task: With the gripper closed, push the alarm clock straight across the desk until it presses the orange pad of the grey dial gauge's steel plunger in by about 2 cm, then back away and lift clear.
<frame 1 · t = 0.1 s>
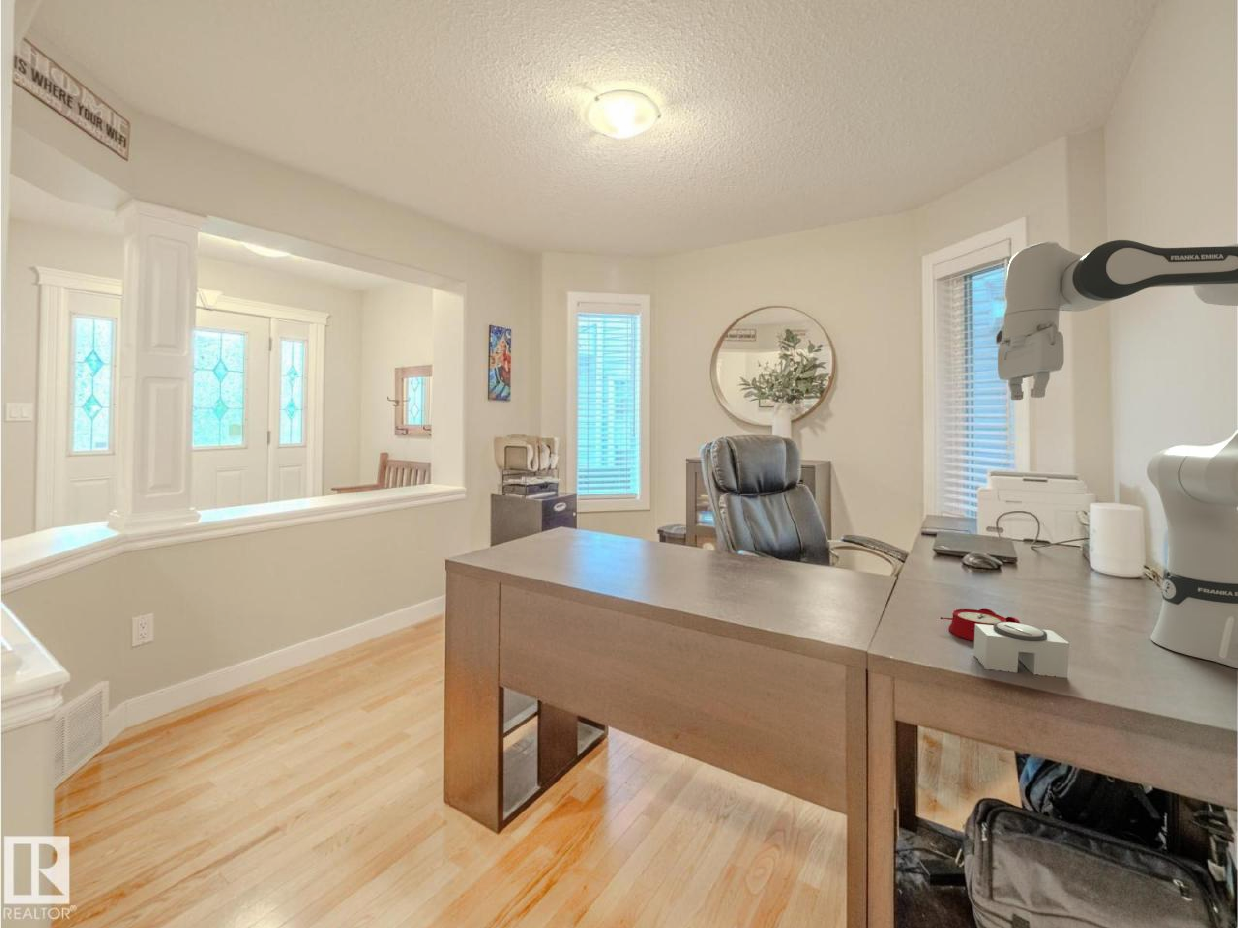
hand: (1026, 399, 109), 48 cm above the table, tool pointing down, fingers open, 8 cm apart
alarm clock: (984, 635, 112), on the table
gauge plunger: (1007, 642, 101), point 2 cm above the table, slide at 0.0 cm
dial gauge: (1017, 665, 96), on the table
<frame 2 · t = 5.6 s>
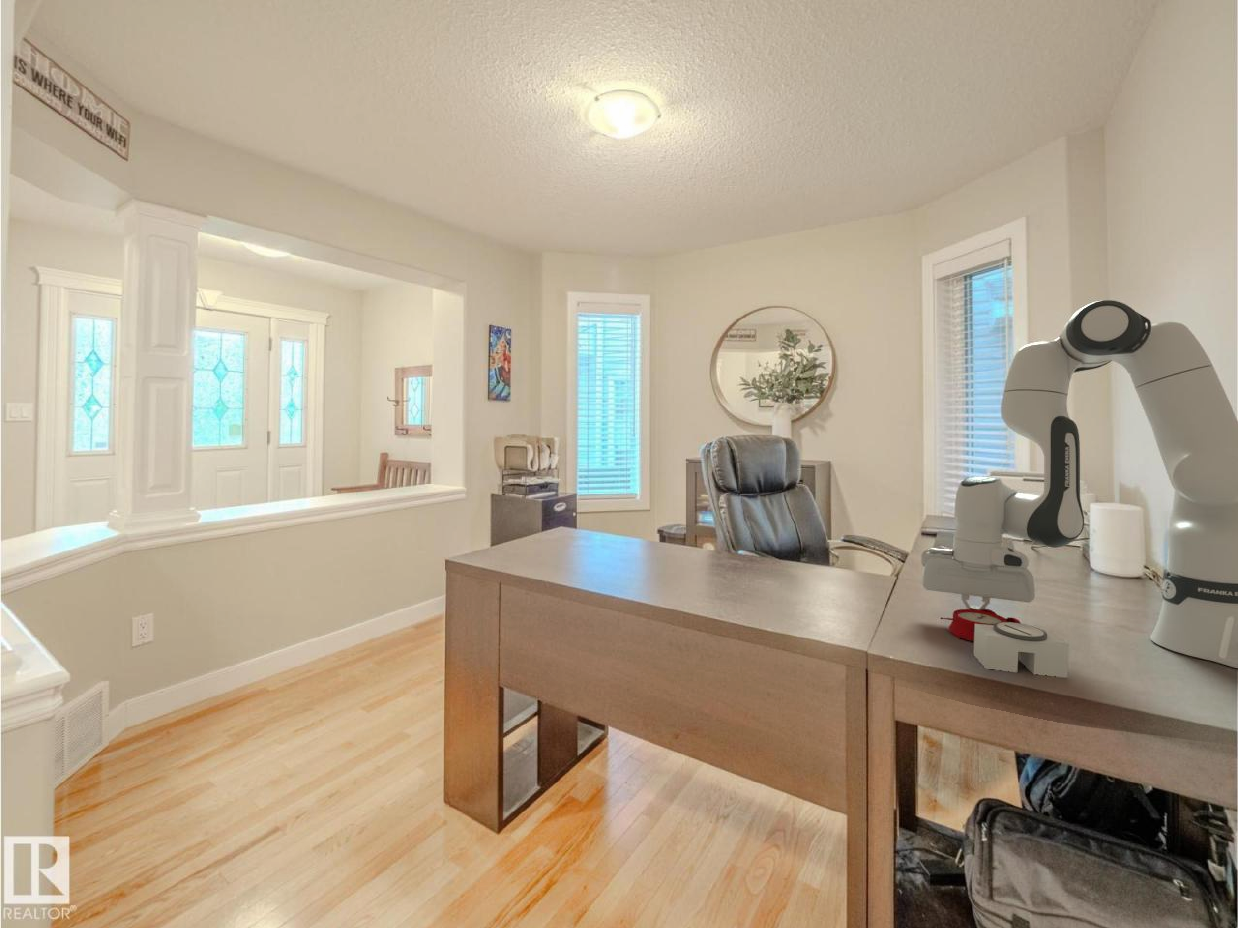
hand: (974, 615, 117), 2 cm above the table, tool pointing down, fingers closed
alarm clock: (984, 636, 111), on the table, touching gripper
everything else where it was.
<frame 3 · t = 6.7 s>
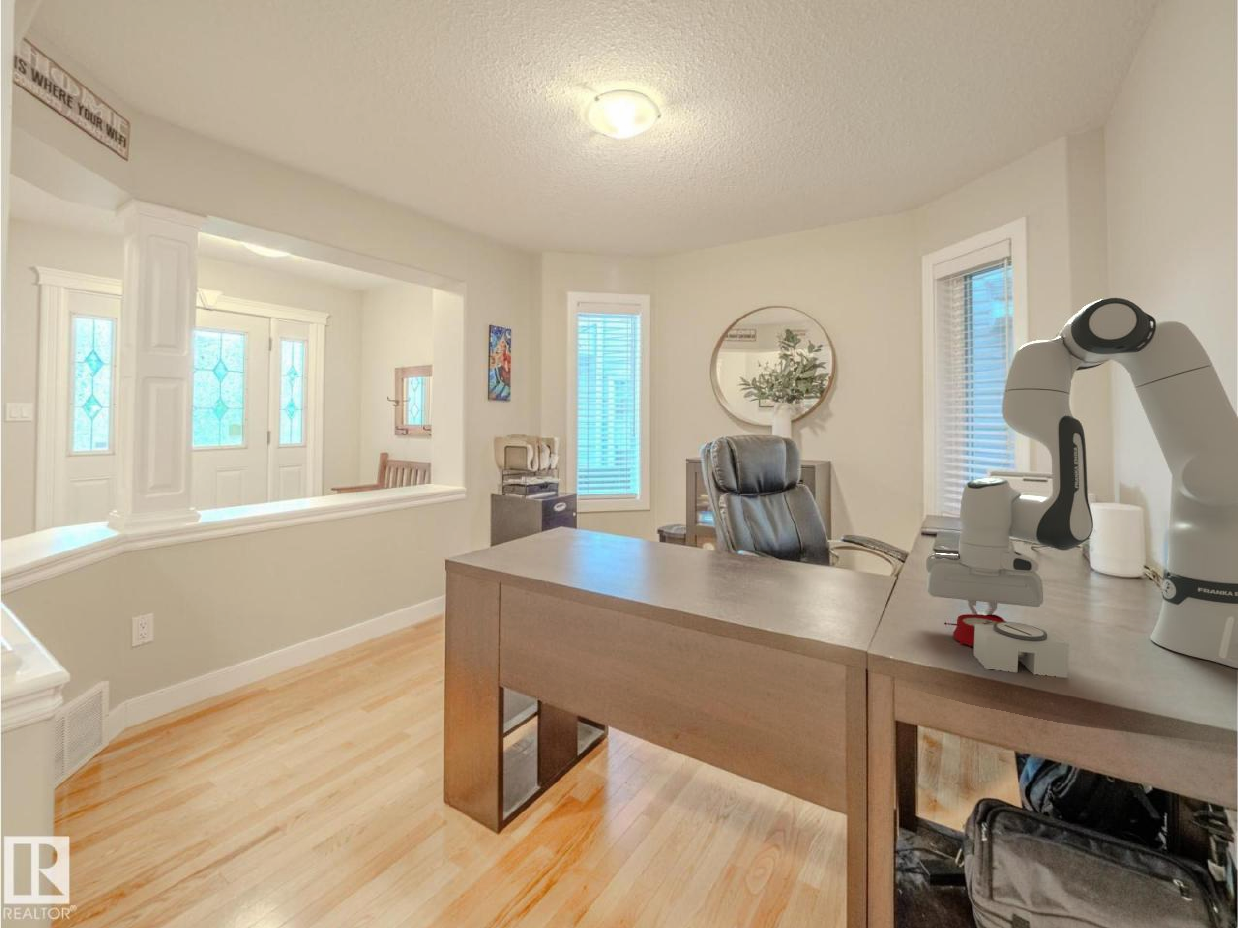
hand: (980, 621, 114), 2 cm above the table, tool pointing down, fingers closed
alarm clock: (990, 642, 107), on the table, touching gripper
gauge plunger: (1013, 647, 98), point 2 cm above the table, slide at 2.5 cm
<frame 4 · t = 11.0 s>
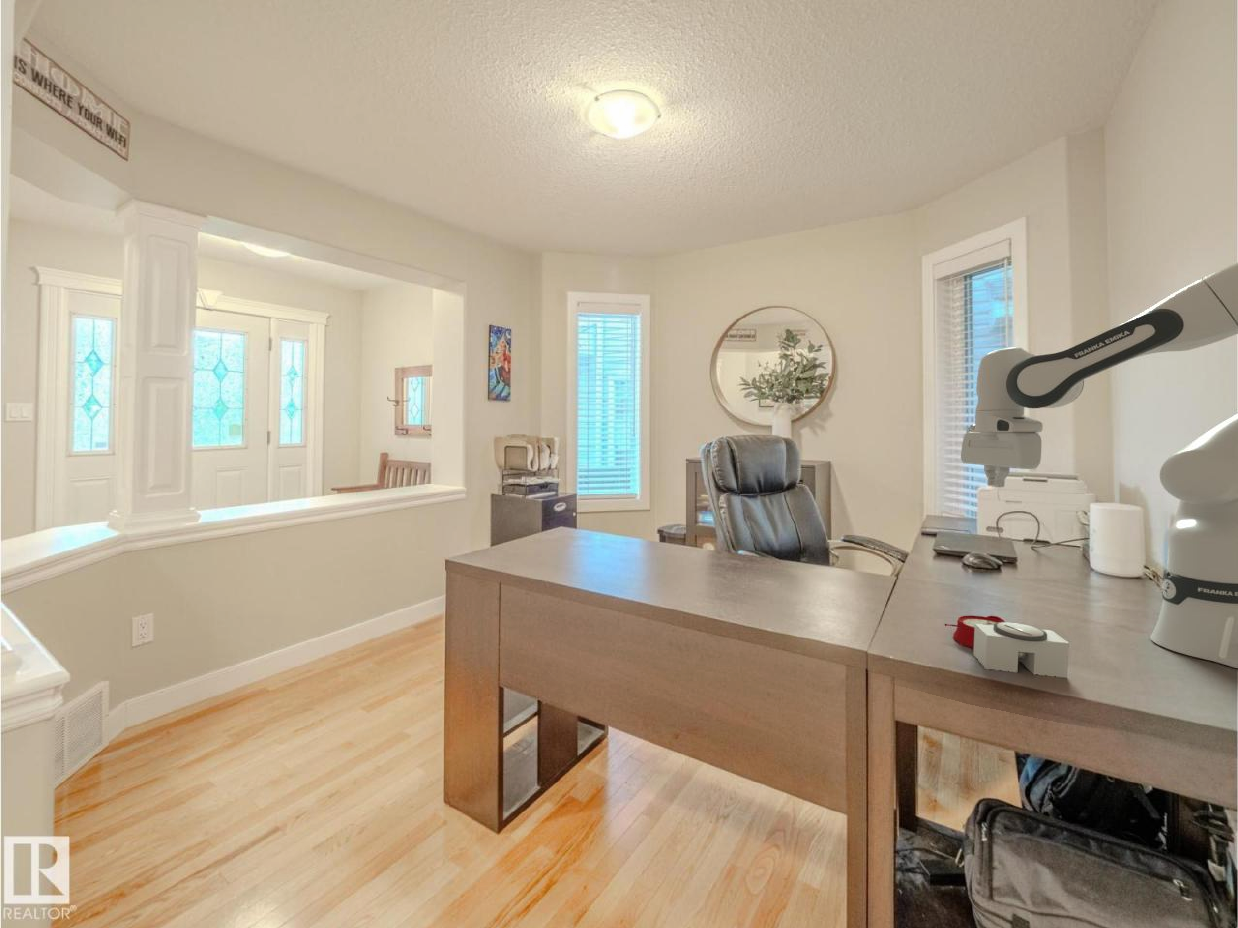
hand: (995, 486, 120), 29 cm above the table, tool pointing down, fingers closed
alarm clock: (991, 643, 107), on the table
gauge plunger: (1013, 647, 98), point 2 cm above the table, slide at 2.8 cm
at the end: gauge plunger slide at 2.8 cm; alarm clock 0.3 cm from the target spot, on the table; alarm clock tilted 0° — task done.
